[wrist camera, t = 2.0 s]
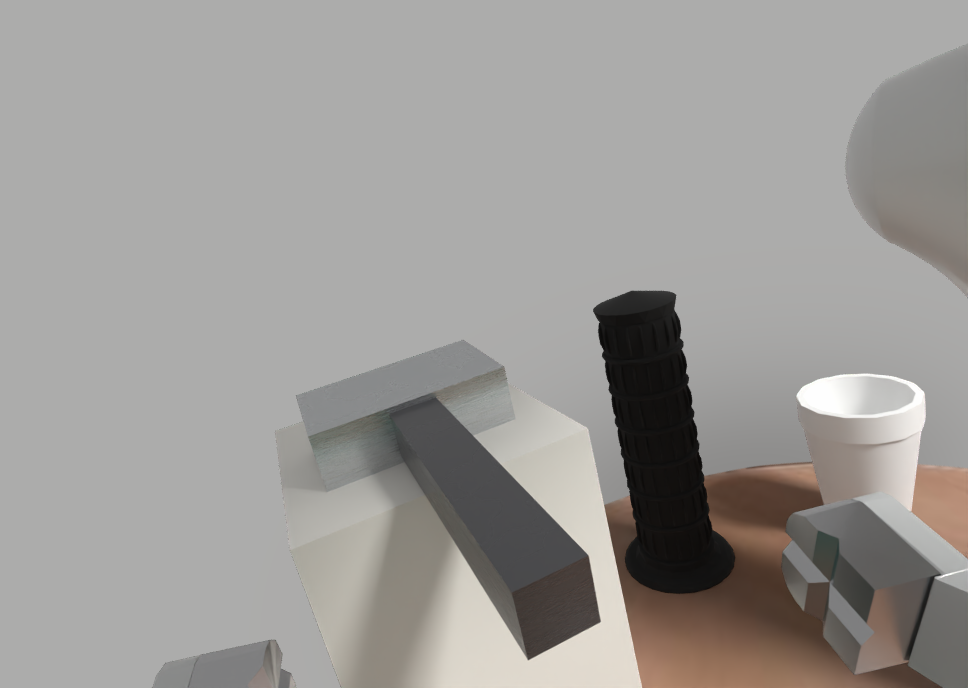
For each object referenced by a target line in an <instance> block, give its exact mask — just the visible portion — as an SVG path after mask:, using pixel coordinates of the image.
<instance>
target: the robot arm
mask: <svg viewBox="0 0 968 688" xmlns="http://www.w3.org/2000/svg"><path fill="white" fill-rule="evenodd" d="M846 179H847V184H848V189H849V192H850V195H851V198H852V200H853V202H854V205H855V207H856V208H857V210H858V211H859V213H860V215H861V216H862V218H863V219H864V220H865V221H866V223H867V224H868V225H869V226H870V227H871V228H872V229H873V230H874V231H876V232H877V233H878V234H879V235H880V236H882V237H883V238H884V239H886V240H887V241H888V242H890V243H893V244H895V245H897V246H899V247H901V248H903V249H905V250H907V251H909V252H911V253H913V254H914V255H916V256H918V257H919V258H921V259H922V260H924V261H926V262H927V263H929V264H930V265H932V266H933V267H934V268H936V269H937V270H938V271H940V272H941V273H942V274H944V275H945V276H946V277H947V278H948V279H950V281H952V282H953V283H954V284H955V285H956V286H957V287H958V288H959V289H960V290H961V291H962V292H963V293H964V294H965V295H966V296H967V298H968V44H966V45H963V46H961V47H958V48H956V49H954V50H951V51H949V52H946V53H944V54H942V55H939V56H937V57H934V58H932V59H930V60H928V61H925V62H923V63H921V64H919V65H916V66H914V67H912V68H910V69H908V70H905V71H903V72H901V73H899V74H897V75H894V76H892V77H890V78H888V79H886V80H885V81H884V82H883V83H882V84H881V85H880V86H879V87H878V88H877V89H876V91H875V92H874V93H873V94H872V96H871V97H870V99H869V100H868V101H867V103H866V104H865V106H864V107H863V109H862V111H861V113H860V114H859V116H858V118H857V120H856V122H855V125H854V127H853V130H852V132H851V136H850V139H849V142H848V146H847V153H846ZM786 533H787V534H788V535H789V536H790V537H791V538H792V541H791V542H790V543H789V545H788V546H787V547H786V548H785V550H784V551H783V554H782V566H781V568H782V571H783V575H784V579H785V582H786V585H787V587H788V589H789V591H790V592H791V594H792V596H793V598H794V599H795V601H796V602H797V603H798V604H799V606H800V607H801V608H802V610H803V611H804V612H806V613H808V614H810V615H812V616H814V617H816V618H817V619H819V620H821V621H823V636H824V638H825V639H826V640H827V642H828V643H829V644H830V645H831V647H832V648H833V649H834V650H835V652H836V653H837V654H838V655H839V657H840V658H841V659H842V660H843V662H844V663H845V664H846V665H847V667H848V668H849V669H850V670H851V672H852V673H853V674H854V675H857V674H861V673H865V672H869V671H873V670H878V669H882V668H886V667H890V666H894V665H898V664H903V663H907V662H908V666H909V667H911V668H912V669H914V670H915V671H917V672H919V673H920V674H922V675H923V676H925V677H927V678H928V679H930V680H931V681H933V682H935V683H936V684H938V685H939V686H941V687H943V688H968V559H967V558H966V557H965V556H963V555H962V554H961V553H960V552H959V551H957V550H956V549H955V548H954V547H953V546H951V545H950V544H949V543H948V542H947V541H945V540H944V539H943V538H942V537H941V536H939V535H938V534H937V533H936V532H935V531H933V530H932V529H931V528H930V527H929V526H927V525H926V524H925V523H924V522H923V521H921V520H920V519H919V518H918V517H917V516H915V515H914V514H913V513H912V512H911V511H909V510H908V509H907V508H906V507H905V506H903V505H902V504H901V503H900V502H899V501H897V500H896V499H895V498H894V497H892V496H891V495H889V494H886V493H884V492H877V493H873V494H869V495H865V496H861V497H856V498H852V499H850V500H847V499H846V500H842V501H838V502H834V503H830V504H826V505H822V506H818V507H815V508H811V509H807V510H803V511H799V512H795V513H792V515H791V516H790V517H789V518H788V519H787V525H786ZM281 661H282V652H281V650H280V648H279V646H278V644H277V642H276V640H268V641H263V642H259V643H254V644H249V645H244V646H240V647H235V648H231V649H226V650H221V651H216V652H212V653H207V654H202V655H199V656H194V657H190V658H186V659H181V660H177V661H172V662H168V663H165V664H164V666H163V667H162V669H161V670H160V671H159V673H158V674H157V676H156V678H155V682H154V684H153V687H152V688H296V685H295V682H294V680H293V677H292V675H291V673H289V672H287V671H285V670H283V669H281Z"/></svg>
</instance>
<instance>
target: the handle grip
mask: <svg viewBox="0 0 968 688" xmlns="http://www.w3.org/2000/svg"><path fill="white" fill-rule="evenodd" d="M675 300H676V294H674V293H672V292H668V291H630V292H627V293H625V294H622V295H620V296H618V297H615V298H612V299H609V300H607V301H605V302H602V303H600V304H599V305H597V306H596V307H595V308H594V309H593V312H594V314H595V315H596V317H597V319H598V321H599V322H600V323H599V329H598V333H599V340H600V344H601V346H602V348H603V350H604V352H603V353H602V357H603V358H604V360H605V361H606V363H605V368H606V375H607V380H608V382H609V384H610V385H609V392H610V393H611V394H612V407H613V411H614V414H615V416H616V418H615V424H616V426H617V427H618V437H619V443H620V446H621V448H622V449H621V455H622V457H623V459H624V469H625V474H626V477H627V487H628V488H629V490H630V491H629V492H630V500H631V505H632V508H633V517H634V519H635V520H636V523H635V524H636V530H637V537H636V538H635V539H634V540H633V541H632V542H631V544H630V545H629V547H628V549H627V551H626V557H625V562H626V567H627V570H628V571H629V573H630V574H631V575H632V577H633V578H635V579H636V580H637V581H638V582H639V583H641V584H643V585H645V586H647V587H649V588H651V589H654V590H658V591H662V592H667V593H691V592H697V591H701V590H705V589H708V588H710V587H712V586H714V585H716V584H718V583H720V582H721V581H722V580H724V579H725V578H726V577H727V576H728V575H729V574H730V572H731V570H732V569H733V567H734V561H735V555H734V552H733V549H732V547H731V546H730V545H729V543H728V542H727V541H726V540H725V539H724V538H723V537H722V536H721V535H719V534H718V533H717V532H715V531H713V530H712V525H711V522H710V519H709V516H708V514H709V506H708V503H707V493H706V489H705V487H704V483H703V482H704V474H703V473H702V461H701V457H700V455H699V452H698V450H699V443H698V440H697V427H696V425H695V423H694V420H693V417H694V410H693V409H692V407H691V405H692V395H691V391H690V389H689V387H688V385H687V384H688V381H689V377H688V375H687V374H686V368H687V363H686V358H685V356H684V353H683V351H682V348H683V341H682V340H681V339H680V334H681V325H680V320H679V318H678V316H677V314H676V312H675V310H674V307H675Z"/></svg>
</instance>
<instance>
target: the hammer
mask: <svg viewBox="0 0 968 688" xmlns="http://www.w3.org/2000/svg"><path fill="white" fill-rule="evenodd" d="M296 398H297V401H298V405H299V408H300V411H301V414H302V418H303V422H304V425H305V428H306V432H307V435H308V438H309V441H310V444H311V447H312V450H313V453H314V455H315V458H316V461H317V464H318V467H319V470H320V473H321V476H322V479H323V481H324V484H325V487H326V490H327V492H329V491H331V490H334V489H337V488H339V487H342V486H344V485H347V484H349V483H352V482H355V481H357V480H360V479H362V478H365V477H368V476H370V475H373V474H375V473H378V472H380V471H383V470H386V469H388V468H391V467H393V466H396V465H398V464H401V463H404V462H405V463H406V465H407V467H408V468H409V470H410V472H411V473H412V475H413V476H414V478H415V480H416V481H417V483H418V484H419V486H420V488H421V489H422V491H423V492H424V494H425V496H426V497H427V499H428V500H429V502H430V504H431V505H432V507H433V508H434V510H435V512H436V513H437V515H438V517H439V518H440V520H441V521H442V523H443V525H444V526H445V528H446V529H447V531H448V533H449V534H450V536H451V537H452V539H453V541H454V542H455V544H456V545H457V547H458V549H459V550H460V552H461V553H462V555H463V557H464V558H465V560H466V561H467V563H468V565H469V566H470V568H471V570H472V571H473V573H474V574H475V576H476V578H477V579H478V581H479V582H480V584H481V586H482V587H483V589H484V590H485V592H486V594H487V595H488V597H489V598H490V600H491V602H492V603H493V605H494V606H495V608H496V610H497V611H498V613H499V615H500V616H501V618H502V619H503V621H504V623H505V624H506V626H507V627H508V629H509V631H510V632H511V634H512V635H513V637H514V639H515V640H516V642H517V643H518V645H519V647H520V648H521V650H522V651H523V653H524V655H525V656H526V658H527V660H530V659H532V658H534V657H536V656H538V655H539V654H541V653H543V652H545V651H547V650H549V649H551V648H553V647H555V646H557V645H558V644H560V643H562V642H564V641H566V640H568V639H570V638H572V637H574V636H576V635H577V634H579V633H581V632H583V631H585V630H587V629H589V628H591V627H593V626H594V625H596V624H598V623H600V622H601V620H600V614H599V609H598V603H597V598H596V592H595V587H594V582H593V576H592V571H591V565H590V560H589V555H588V554H587V553H586V552H585V551H584V550H583V549H582V548H581V547H580V546H579V545H578V544H577V543H576V542H575V541H574V540H573V539H572V538H571V537H570V536H569V535H568V533H567V532H566V531H565V530H564V529H563V528H562V527H561V526H560V525H559V524H558V523H557V522H556V521H555V520H554V519H553V518H552V517H551V516H550V515H549V514H548V513H547V512H546V511H545V510H544V509H543V508H542V507H541V506H540V504H539V503H538V502H537V501H536V500H535V499H534V498H533V497H532V496H531V495H530V494H529V493H528V492H527V491H526V490H525V489H524V488H523V487H522V486H521V485H520V484H519V483H518V482H517V481H516V480H515V479H514V478H513V477H512V475H511V474H510V473H509V472H508V471H507V470H506V469H505V468H504V467H503V466H502V465H501V464H500V463H499V462H498V461H497V460H496V459H495V458H494V457H493V456H492V455H491V454H490V453H489V452H488V451H487V450H486V449H485V448H484V447H483V445H482V444H481V443H480V442H479V441H478V440H477V439H476V438H475V437H474V436H473V435H476V434H478V433H481V432H484V431H486V430H489V429H491V428H494V427H497V426H499V425H502V424H504V423H507V422H509V421H512V420H515V415H514V410H513V405H512V401H511V396H510V391H509V387H508V382H507V377H506V373H505V368H504V366H502V365H501V364H499V363H498V362H496V361H495V360H493V359H492V358H490V357H489V356H487V355H486V354H484V353H483V352H481V351H479V350H478V349H477V348H475V347H473V346H472V345H470V344H469V343H467V342H466V341H464V340H461V341H459V342H455V343H453V344H449V345H446V346H444V347H440V348H438V349H434V350H431V351H428V352H426V353H422V354H419V355H416V356H413V357H411V358H407V359H405V360H401V361H398V362H396V363H392V364H389V365H387V366H383V367H380V368H378V369H374V370H371V371H369V372H366V373H363V374H359V375H356V376H354V377H350V378H347V379H344V380H341V381H339V382H336V383H333V384H329V385H327V386H324V387H320V388H318V389H314V390H312V391H308V392H306V393H302V394H299V395H296Z"/></svg>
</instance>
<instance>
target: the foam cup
mask: <svg viewBox="0 0 968 688" xmlns="http://www.w3.org/2000/svg"><path fill="white" fill-rule="evenodd" d="M796 399H797V409H798V417H799V421H800V423H801V425H802V427H803V429H804V432H805V436H806V440H807V444H808V447H809V451H810V455H811V458H812V462H813V466H814V470H815V474H816V477H817V481H818V485H819V489H820V493H821V496H822V500H823V504H824V505H826V504H830V503H834V502H838V501H842V500H846V499H847V500H850V499H852V498H856V497H861V496H865V495H869V494H873V493H877V492H884V493H886V494H889V495H891V496H892V497H894V498H895V499H896V500H897V501H899V502H900V503H901V504H902V505H903V506H905V507H906V508H907V509H908V510H909V511H911V509H912V501H913V493H914V485H915V477H916V469H917V461H918V453H919V444H920V437H921V430H922V429H923V426H924V422H925V419H926V413H925V393H924V392H923V391H922V390H921V389H920V388H919V387H918V386H917V385H916V384H915V383H912V382H909V381H906V380H903V379H900V378H896V377H893V376H885V375H876V374H847V375H838V376H833V377H828V378H823V379H818V380H816V381H814V382H812V383H810V384H807V385H805V386H803V387H802V388H801V390H800V391H799V393H798V394H797V395H796Z"/></svg>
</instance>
